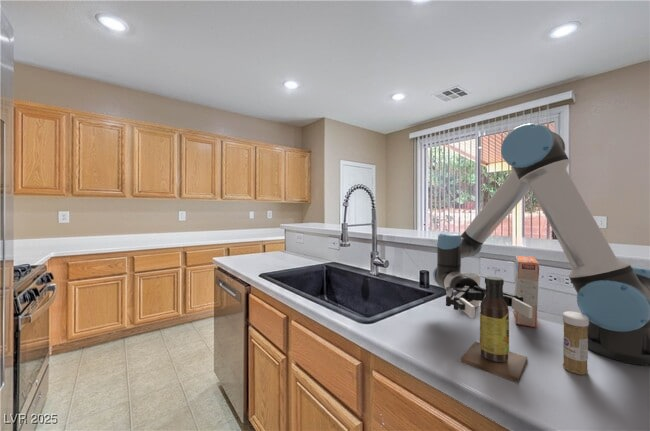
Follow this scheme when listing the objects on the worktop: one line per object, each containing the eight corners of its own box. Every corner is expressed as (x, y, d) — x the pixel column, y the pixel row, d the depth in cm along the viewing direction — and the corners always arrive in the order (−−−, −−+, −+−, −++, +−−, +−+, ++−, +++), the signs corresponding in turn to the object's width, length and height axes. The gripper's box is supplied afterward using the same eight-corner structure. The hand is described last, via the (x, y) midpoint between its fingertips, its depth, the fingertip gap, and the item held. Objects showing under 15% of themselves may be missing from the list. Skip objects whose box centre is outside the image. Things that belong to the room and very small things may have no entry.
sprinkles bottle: (558, 365, 69) (557, 311, 69) (573, 362, 70) (573, 309, 69) (577, 377, 65) (577, 319, 64) (594, 373, 66) (594, 317, 65)
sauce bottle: (513, 365, 68) (514, 281, 67) (484, 362, 69) (485, 280, 68) (502, 352, 74) (503, 275, 73) (476, 349, 75) (476, 274, 75)
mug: (474, 309, 107) (475, 277, 106) (457, 304, 112) (457, 274, 112) (486, 303, 113) (486, 273, 113) (468, 298, 118) (469, 270, 118)
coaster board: (527, 360, 71) (527, 356, 71) (518, 382, 63) (518, 378, 63) (475, 344, 80) (475, 341, 80) (460, 362, 71) (460, 358, 71)
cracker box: (538, 328, 90) (540, 263, 89) (515, 324, 93) (516, 261, 92) (533, 314, 102) (535, 256, 101) (513, 311, 105) (514, 254, 104)
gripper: (501, 298, 89) (554, 328, 68) (421, 298, 90) (449, 327, 68) (501, 275, 89) (555, 297, 68) (421, 274, 89) (449, 296, 68)
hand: (502, 312), depth 68 cm, fingers open, 13 cm apart
